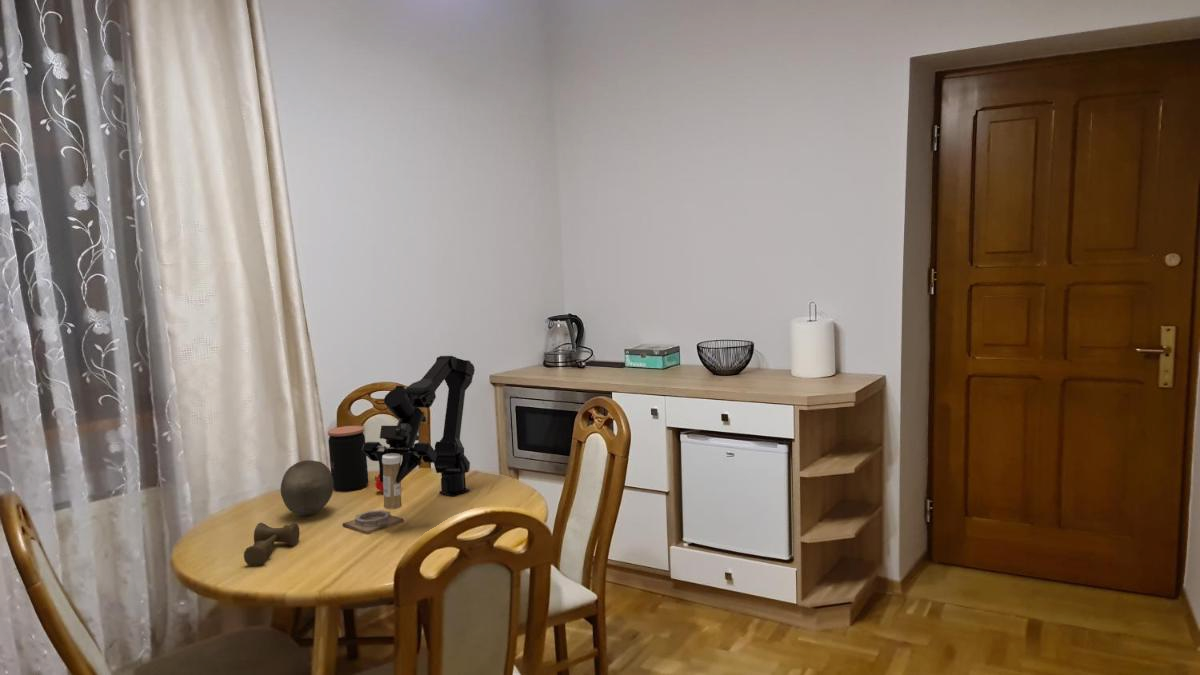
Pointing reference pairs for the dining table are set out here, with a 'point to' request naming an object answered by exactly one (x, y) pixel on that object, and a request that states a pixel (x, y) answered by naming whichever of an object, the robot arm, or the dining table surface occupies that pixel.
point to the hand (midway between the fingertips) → (389, 481)
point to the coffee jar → (348, 458)
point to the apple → (379, 483)
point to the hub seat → (372, 521)
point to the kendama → (269, 542)
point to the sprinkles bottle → (391, 481)
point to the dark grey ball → (307, 487)
